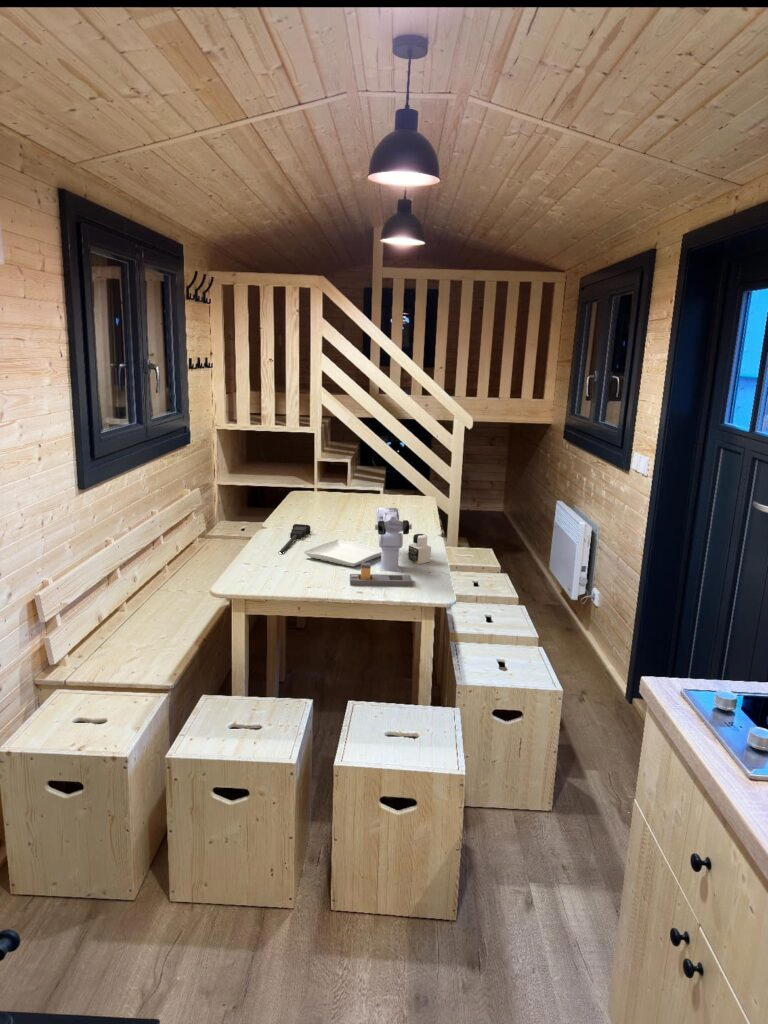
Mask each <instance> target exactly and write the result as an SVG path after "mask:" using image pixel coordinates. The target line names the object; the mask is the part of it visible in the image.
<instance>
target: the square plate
mask: <svg viewBox="0 0 768 1024" xmlns="http://www.w3.org/2000/svg"><path fill="white" fill-rule="evenodd" d="M302 552H303V553H304V554H305V555H306V556H307V557H310V558H313V559H316V560H318V559H321V560H320V561H322V560H325V561H324V562H326V561H329V562H328V563H331V562H334V563H333V564H335V563H338V564H337V565H339V564H342V565H341V566H344V565H346V567H353V568H354V567H356V566H360V565H361V562H362V563H367V562H369V561H371V560H374V559H377V558H379V557H381V552H382V548H380V547H376V546H371V545H367V544H363V543H359V542H355V541H348V540H344V539H335V540H332V541H329V542H325V543H322V544H320V545H316V546H313V547H312V548H308V549H307V550H306V549H305V550H304V551H302ZM366 561H367V562H366ZM359 564H360V565H359Z"/></svg>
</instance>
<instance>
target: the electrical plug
mask: <svg viewBox="0 0 768 1024" xmlns="http://www.w3.org/2000/svg"><path fill="white" fill-rule="evenodd" d="M308 534H309V535H310V534H311V525H309V524H301V523H294V524H293V525H292V528H291V531H290V533H289V536H290V537H289V540H288V541H287V542H286V544H285V545H284V546H283V547H282V548H281V549H279V551H278V553H279V552H281V553H283V552H284V551H285V550H287V549H289V547H290V546H291V545H292V544H293V543H294V542H295V540H297V539H301V538H302V537H305V538H306V535H308ZM290 538H291V539H290ZM302 539H303V538H302ZM302 539H301V540H302ZM285 552H286V551H285ZM285 552H284V553H285ZM284 553H283V554H284Z"/></svg>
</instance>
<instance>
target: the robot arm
mask: <svg viewBox="0 0 768 1024" xmlns="http://www.w3.org/2000/svg"><path fill="white" fill-rule="evenodd" d="M375 520H376V523H375V524H374V530H375V531H377V534H378V548H381V549H382V552H381V556H380V559H381V560H380V563H379V564H378V566H379V570H380V572H400V566H399V554H400V553H399V552H400V549H402V547H403V544H404V536H403V535H409V534H410V530H412V529H413V528H412V527H413V524H412V523H410V521H409V520H407V519H403V520H400V513H399V509H398V507H378V506H377V508H376V512H375Z"/></svg>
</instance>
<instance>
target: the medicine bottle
mask: <svg viewBox="0 0 768 1024" xmlns="http://www.w3.org/2000/svg"><path fill="white" fill-rule="evenodd" d="M412 539H413V541H412V544H409V545H408V554H407V560H408V561H409V562H411V563H413V562H414V563H413V564H416V565H421V564H422V563H423V564H428V563H427V562H429V563H431V555H432V552H431V551H432V547H431V546H430V545H428V536H427V534H424V533H415V534H414V535H413V538H412Z"/></svg>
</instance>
